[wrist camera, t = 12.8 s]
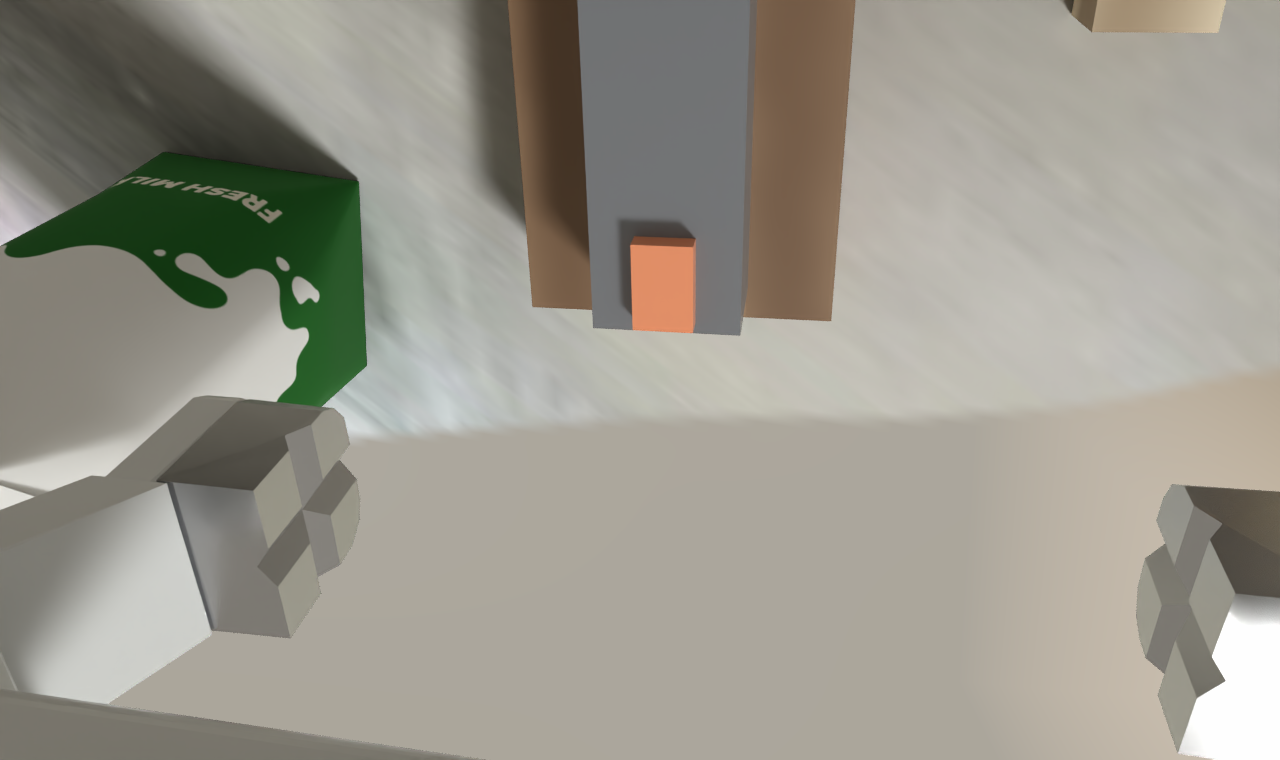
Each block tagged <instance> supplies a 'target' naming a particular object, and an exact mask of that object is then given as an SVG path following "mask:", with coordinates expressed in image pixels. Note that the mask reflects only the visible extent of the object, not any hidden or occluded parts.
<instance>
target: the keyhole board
mask: <svg viewBox="0 0 1280 760" xmlns="http://www.w3.org/2000/svg"><path fill="white" fill-rule="evenodd" d="M508 11H509V24H510V36H511V48H512V61H513V73H514V85H515V97H516V110H517V122H518V134H519V147H520V159H521V171H522V183H523V196H524V208H525V220H526V232H527V245H528V257H529V269H530V282H531V294H532V306H533V307H545V308H566V309H587V310H592V294H591V273H590V252H589V232H588V211H587V190H586V170H585V149H584V128H583V107H582V87H581V66H580V45H579V25H578V4H577V0H508ZM854 12H855V0H757V20H756V51H755V81H754V111H753V141H752V172H751V202H750V232H749V263H748V290H747V297H746V303H745V309H744V315H743V317H754V318H775V319H796V320H817V321H831V315H832V302H833V289H834V276H835V263H836V249H837V236H838V223H839V210H840V197H841V183H842V170H843V157H844V144H845V130H846V117H847V104H848V91H849V78H850V64H851V51H852V38H853V25H854Z"/></svg>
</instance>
